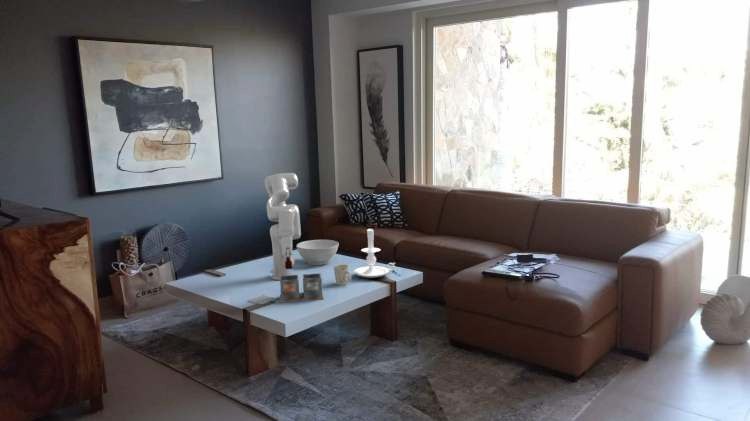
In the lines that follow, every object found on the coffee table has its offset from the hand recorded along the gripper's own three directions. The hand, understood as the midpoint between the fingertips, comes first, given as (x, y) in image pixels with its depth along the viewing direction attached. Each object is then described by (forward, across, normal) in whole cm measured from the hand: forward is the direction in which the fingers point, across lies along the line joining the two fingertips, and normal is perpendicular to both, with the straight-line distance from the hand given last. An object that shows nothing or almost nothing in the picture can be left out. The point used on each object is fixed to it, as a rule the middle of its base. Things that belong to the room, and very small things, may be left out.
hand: (288, 266), depth 303 cm
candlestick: (+17, -31, +49) cm, 60 cm away
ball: (-2, 0, 0) cm, 2 cm away
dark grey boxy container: (+17, 0, +6) cm, 18 cm away
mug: (+17, -19, +30) cm, 39 cm away
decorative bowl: (+17, -71, +18) cm, 75 cm away
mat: (+17, 0, -14) cm, 22 cm away
